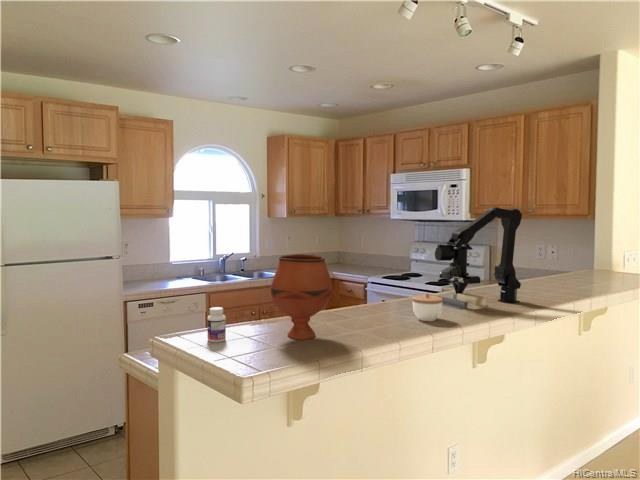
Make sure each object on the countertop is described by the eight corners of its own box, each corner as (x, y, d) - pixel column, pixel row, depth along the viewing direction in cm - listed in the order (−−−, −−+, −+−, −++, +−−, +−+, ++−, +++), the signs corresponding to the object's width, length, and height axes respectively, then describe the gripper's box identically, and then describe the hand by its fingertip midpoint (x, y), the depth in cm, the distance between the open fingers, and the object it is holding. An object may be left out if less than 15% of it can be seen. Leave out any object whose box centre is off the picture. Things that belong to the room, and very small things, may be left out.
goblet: (282, 347, 147) (283, 260, 146) (262, 331, 165) (262, 254, 163) (342, 340, 155) (343, 258, 153) (317, 326, 172) (318, 252, 171)
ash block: (467, 304, 215) (467, 292, 214) (485, 308, 206) (485, 296, 206) (456, 305, 212) (456, 293, 212) (474, 310, 203) (474, 297, 203)
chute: (460, 299, 224) (460, 293, 224) (487, 305, 210) (488, 299, 210) (432, 302, 217) (432, 296, 217) (459, 309, 203) (459, 303, 203)
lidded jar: (424, 323, 178) (425, 297, 177) (405, 317, 187) (406, 292, 186) (448, 320, 183) (449, 294, 182) (429, 315, 192) (429, 290, 191)
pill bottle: (208, 337, 157) (208, 306, 156) (226, 337, 157) (226, 306, 156) (206, 342, 151) (206, 310, 151) (224, 342, 152) (224, 310, 151)
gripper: (430, 258, 217) (428, 295, 219) (461, 263, 201) (459, 303, 202) (450, 257, 223) (448, 293, 224) (482, 262, 206) (480, 301, 207)
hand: (458, 297), depth 214 cm, fingers closed
